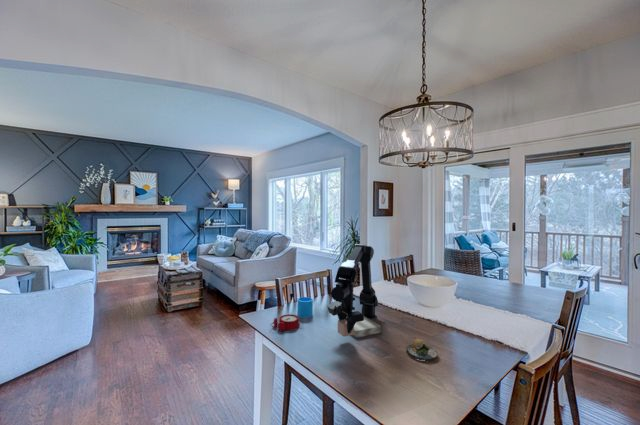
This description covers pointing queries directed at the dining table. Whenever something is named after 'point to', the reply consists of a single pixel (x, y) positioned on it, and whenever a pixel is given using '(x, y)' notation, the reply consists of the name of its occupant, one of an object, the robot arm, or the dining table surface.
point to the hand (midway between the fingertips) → (345, 330)
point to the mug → (305, 307)
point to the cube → (344, 328)
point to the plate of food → (421, 351)
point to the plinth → (366, 328)
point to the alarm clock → (287, 322)
